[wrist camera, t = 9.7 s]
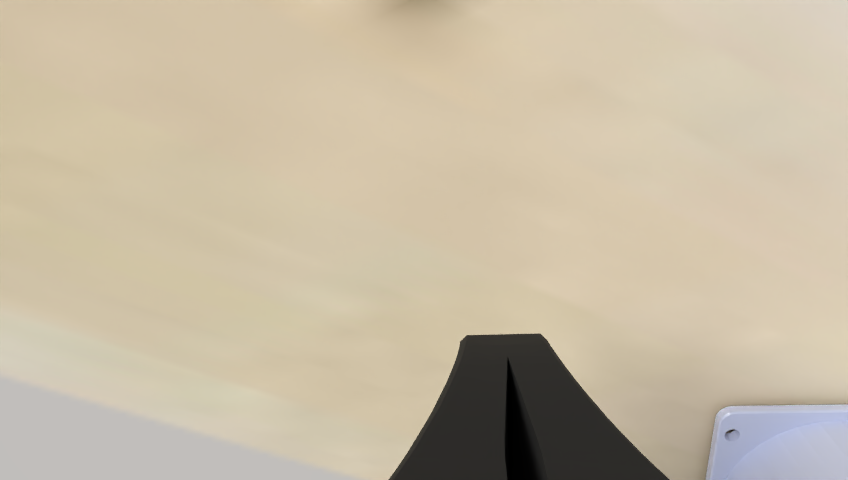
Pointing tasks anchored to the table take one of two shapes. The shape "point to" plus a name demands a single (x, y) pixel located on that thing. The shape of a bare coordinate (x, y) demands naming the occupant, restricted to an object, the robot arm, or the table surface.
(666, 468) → the table surface
